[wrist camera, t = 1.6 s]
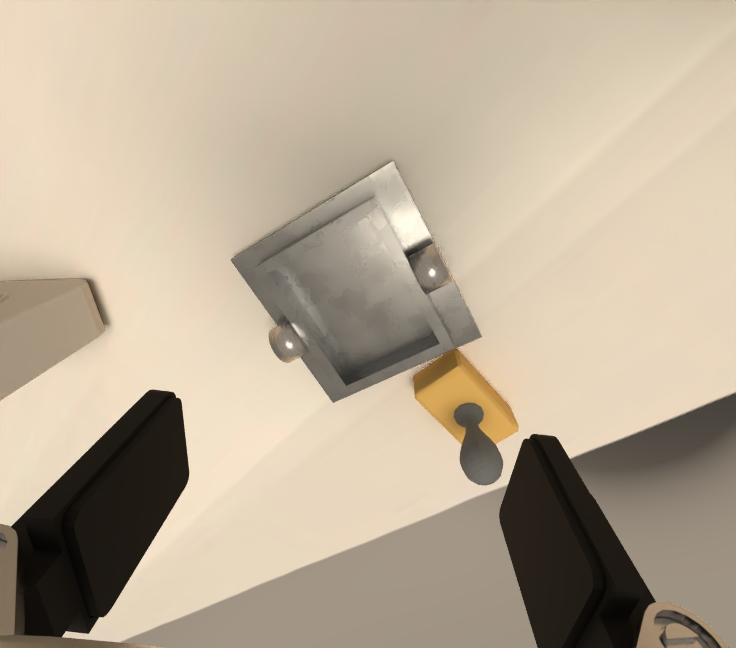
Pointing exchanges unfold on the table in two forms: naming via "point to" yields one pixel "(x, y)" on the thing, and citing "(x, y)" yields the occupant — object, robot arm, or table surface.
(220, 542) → the table surface
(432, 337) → the grey metal square tray
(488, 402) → the rubber stamp
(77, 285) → the grey control panel
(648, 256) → the table surface
